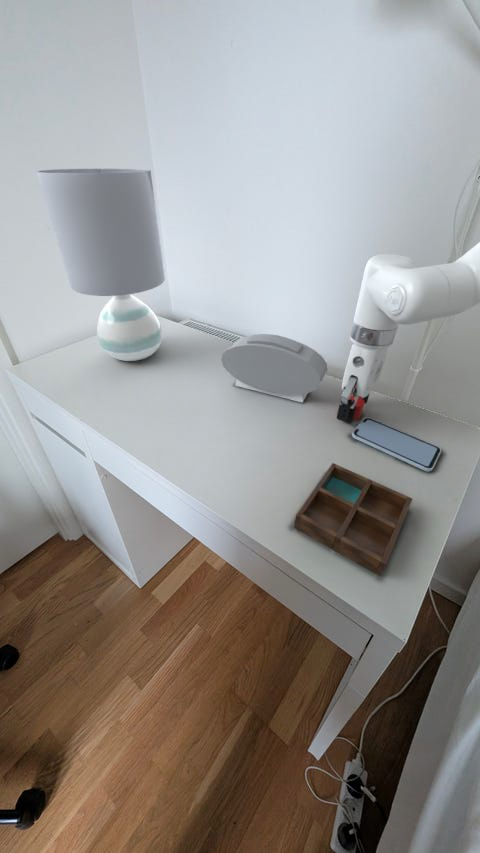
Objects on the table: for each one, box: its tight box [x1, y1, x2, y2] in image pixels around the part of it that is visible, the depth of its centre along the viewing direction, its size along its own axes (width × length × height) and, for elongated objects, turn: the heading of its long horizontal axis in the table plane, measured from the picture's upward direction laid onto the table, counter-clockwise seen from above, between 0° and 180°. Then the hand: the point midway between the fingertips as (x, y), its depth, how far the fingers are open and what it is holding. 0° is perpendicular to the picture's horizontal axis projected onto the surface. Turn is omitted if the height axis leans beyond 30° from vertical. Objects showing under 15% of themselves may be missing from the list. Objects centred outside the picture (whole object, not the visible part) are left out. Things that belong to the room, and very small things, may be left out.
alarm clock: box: [220, 333, 328, 403], centre depth 76 cm, size 23×6×13 cm, turn 65°
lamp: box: [36, 167, 166, 362], centre depth 80 cm, size 22×22×40 cm
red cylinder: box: [350, 394, 365, 421], centre depth 71 cm, size 4×4×4 cm
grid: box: [293, 462, 413, 577], centre depth 51 cm, size 13×13×3 cm
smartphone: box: [351, 417, 442, 473], centre depth 64 cm, size 7×1×15 cm
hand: (352, 410), depth 71 cm, fingers open, 7 cm apart
